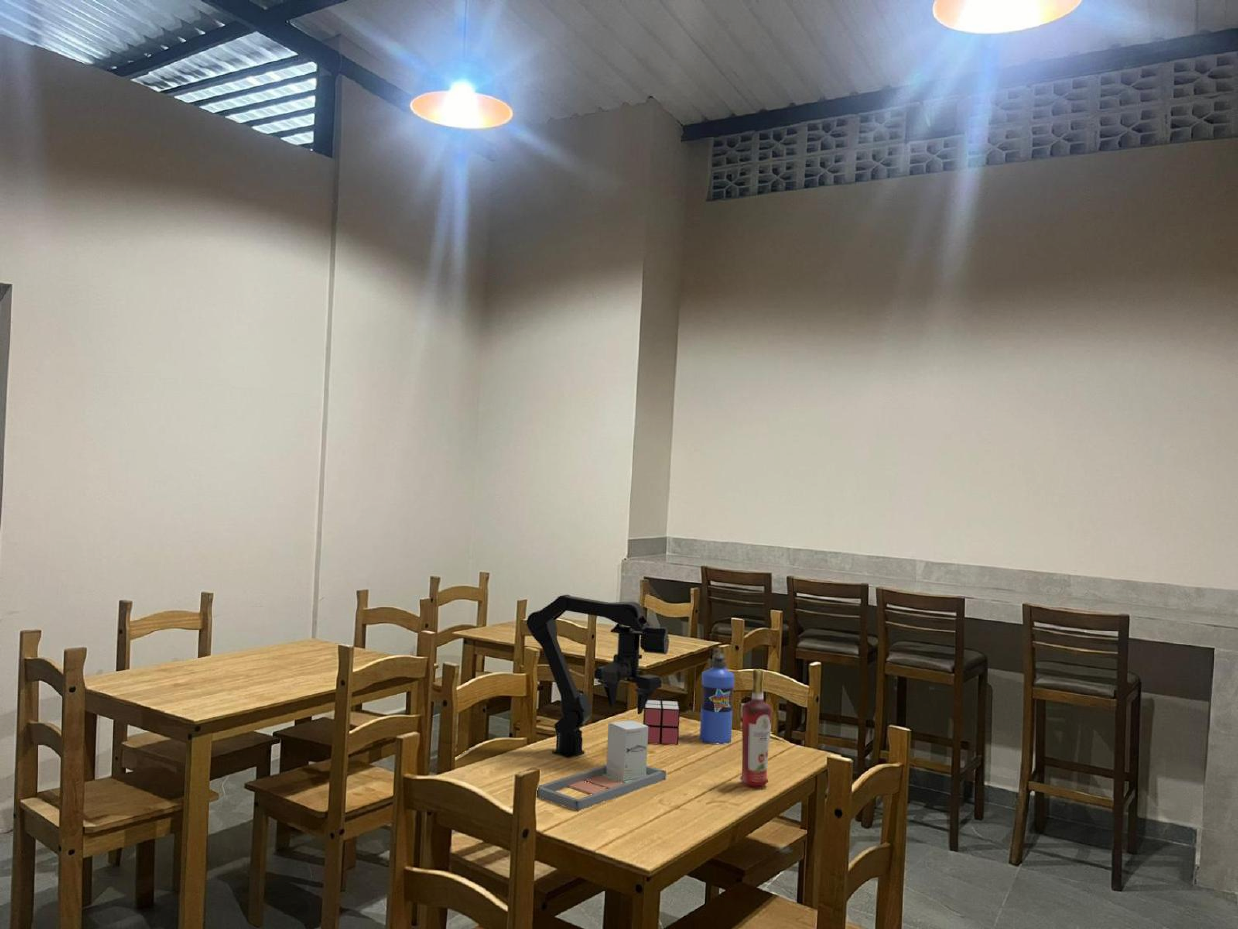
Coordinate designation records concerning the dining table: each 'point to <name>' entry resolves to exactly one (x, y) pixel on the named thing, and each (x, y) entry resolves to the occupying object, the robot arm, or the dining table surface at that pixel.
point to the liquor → (755, 735)
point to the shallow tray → (597, 792)
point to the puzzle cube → (662, 721)
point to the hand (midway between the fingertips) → (625, 710)
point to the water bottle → (717, 702)
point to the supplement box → (627, 750)
